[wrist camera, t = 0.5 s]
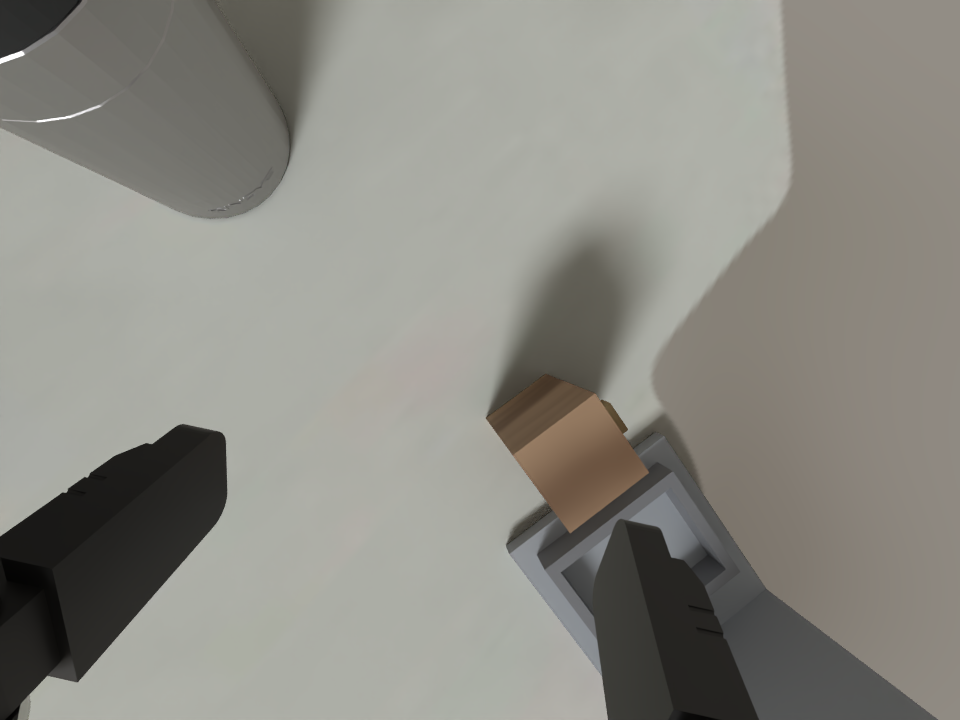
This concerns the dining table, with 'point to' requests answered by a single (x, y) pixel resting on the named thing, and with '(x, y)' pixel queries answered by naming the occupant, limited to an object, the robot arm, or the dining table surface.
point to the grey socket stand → (732, 591)
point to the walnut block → (569, 447)
